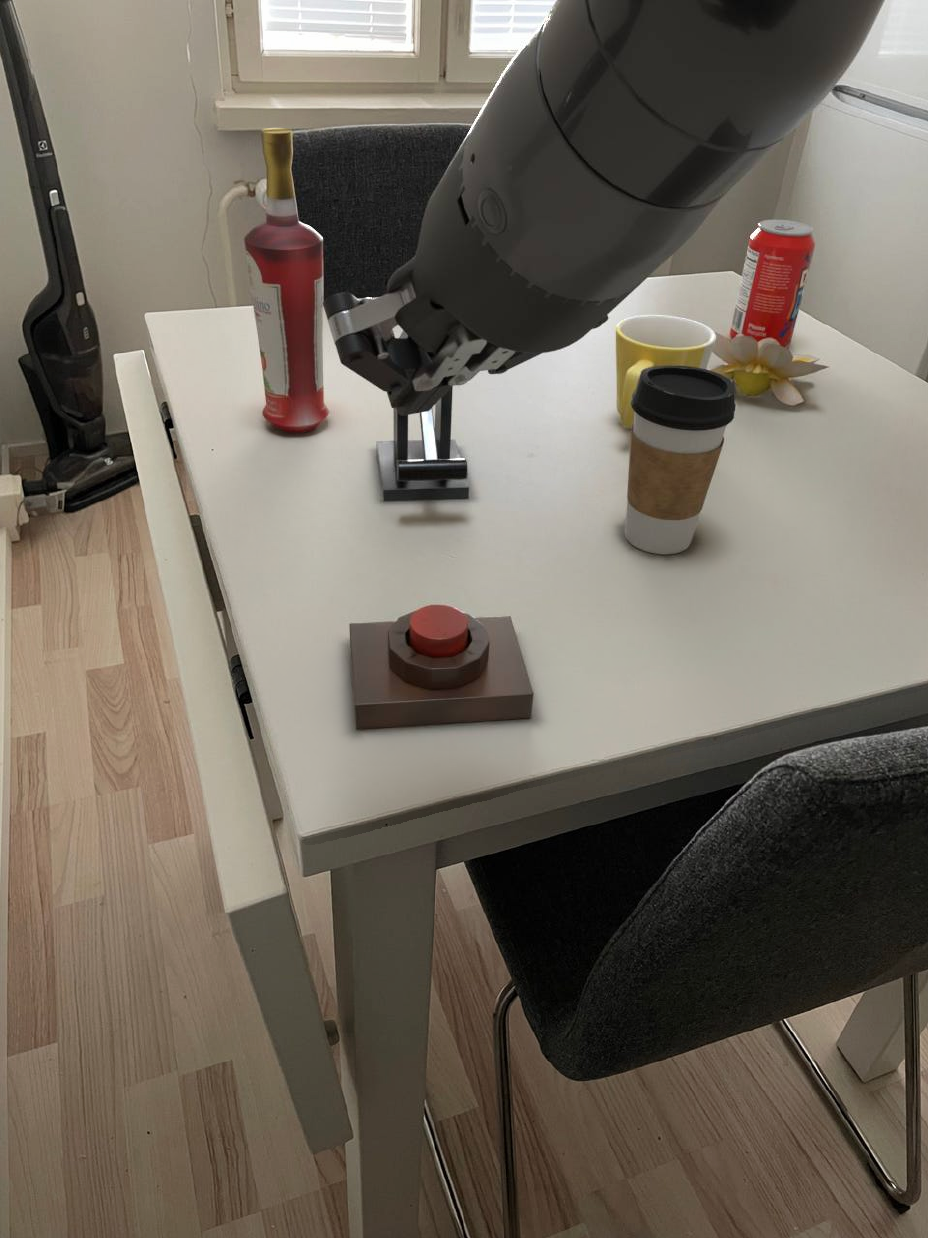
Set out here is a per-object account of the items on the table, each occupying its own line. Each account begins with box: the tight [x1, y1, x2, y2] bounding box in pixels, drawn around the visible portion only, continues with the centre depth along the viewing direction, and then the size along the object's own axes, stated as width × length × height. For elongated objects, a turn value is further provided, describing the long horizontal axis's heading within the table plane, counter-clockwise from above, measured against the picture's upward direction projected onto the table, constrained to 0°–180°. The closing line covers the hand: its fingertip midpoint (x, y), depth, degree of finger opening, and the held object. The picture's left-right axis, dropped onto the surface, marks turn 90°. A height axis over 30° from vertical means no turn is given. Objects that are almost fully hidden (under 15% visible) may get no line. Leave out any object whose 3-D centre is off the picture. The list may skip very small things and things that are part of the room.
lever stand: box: [376, 386, 470, 502], centre depth 90 cm, size 10×8×12 cm
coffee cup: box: [624, 365, 736, 555], centre depth 81 cm, size 8×8×15 cm
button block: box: [348, 609, 535, 730], centre depth 67 cm, size 12×9×4 cm
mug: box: [615, 314, 716, 429], centre depth 101 cm, size 14×10×10 cm
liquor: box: [243, 127, 330, 434], centre depth 93 cm, size 7×7×28 cm
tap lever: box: [397, 407, 468, 481], centre depth 85 cm, size 12×6×2 cm, turn 8°
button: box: [410, 604, 468, 658], centre depth 66 cm, size 4×4×2 cm
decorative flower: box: [709, 331, 830, 406], centre depth 110 cm, size 15×11×10 cm
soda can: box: [729, 219, 816, 348], centre depth 121 cm, size 8×8×15 cm
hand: (406, 395), depth 47 cm, fingers closed
